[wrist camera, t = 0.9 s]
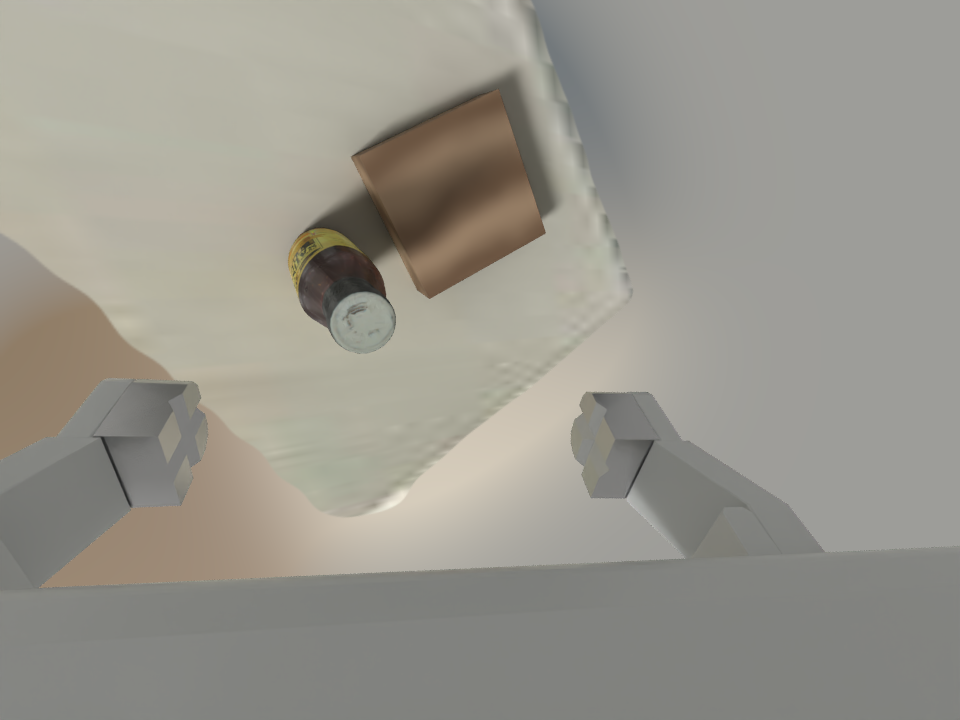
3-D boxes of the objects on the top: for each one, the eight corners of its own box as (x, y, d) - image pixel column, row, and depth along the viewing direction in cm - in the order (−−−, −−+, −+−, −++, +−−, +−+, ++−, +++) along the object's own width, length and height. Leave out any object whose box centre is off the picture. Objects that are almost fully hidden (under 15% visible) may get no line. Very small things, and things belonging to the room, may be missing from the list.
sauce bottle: (289, 220, 44) (315, 252, 27) (359, 232, 46) (422, 268, 30) (283, 291, 45) (304, 364, 29) (351, 299, 48) (406, 368, 31)
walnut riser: (351, 156, 44) (359, 155, 41) (480, 94, 47) (498, 88, 43) (417, 290, 51) (429, 298, 47) (526, 229, 54) (545, 233, 50)
